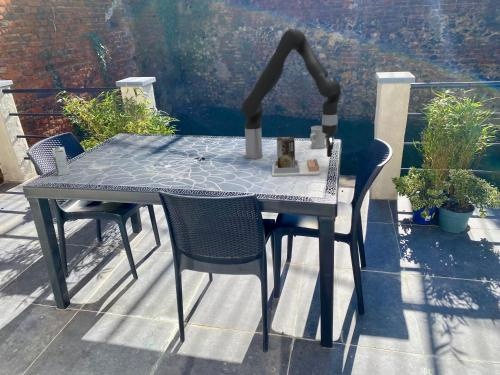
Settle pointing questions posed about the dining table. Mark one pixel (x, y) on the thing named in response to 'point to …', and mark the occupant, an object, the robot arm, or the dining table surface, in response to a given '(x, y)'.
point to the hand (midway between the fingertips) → (329, 156)
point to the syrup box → (60, 161)
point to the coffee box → (286, 152)
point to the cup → (317, 137)
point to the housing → (292, 170)
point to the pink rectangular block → (312, 165)
